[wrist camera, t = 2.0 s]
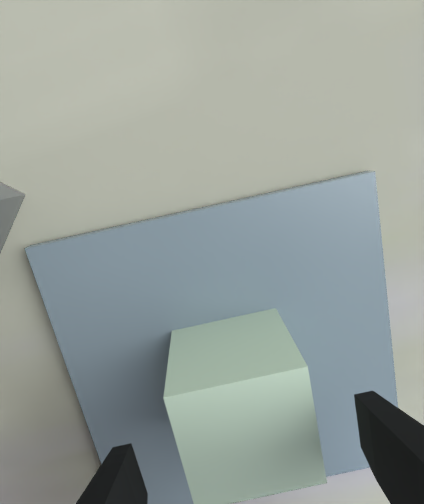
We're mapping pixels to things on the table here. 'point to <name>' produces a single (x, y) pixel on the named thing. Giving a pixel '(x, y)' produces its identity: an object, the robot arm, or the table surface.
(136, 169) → the table surface
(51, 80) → the table surface
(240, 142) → the table surface
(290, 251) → the plate
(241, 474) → the sage brick
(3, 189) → the dice cube
